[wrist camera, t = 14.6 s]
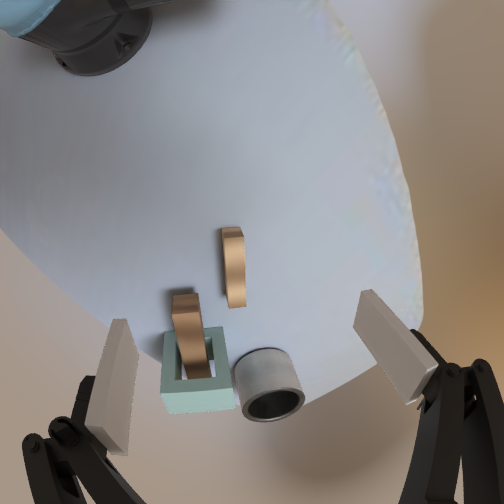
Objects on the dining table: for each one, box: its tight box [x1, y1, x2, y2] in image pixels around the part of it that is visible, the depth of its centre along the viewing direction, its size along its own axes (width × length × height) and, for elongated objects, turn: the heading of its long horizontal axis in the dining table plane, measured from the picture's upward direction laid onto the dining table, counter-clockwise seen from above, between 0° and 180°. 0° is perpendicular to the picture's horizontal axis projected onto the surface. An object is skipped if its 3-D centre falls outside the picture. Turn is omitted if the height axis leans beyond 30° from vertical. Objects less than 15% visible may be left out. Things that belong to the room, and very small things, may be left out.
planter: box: [234, 349, 305, 422], centre depth 52 cm, size 12×13×11 cm
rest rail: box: [222, 227, 246, 309], centre depth 43 cm, size 12×3×4 cm, turn 1°
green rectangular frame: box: [160, 327, 235, 414], centre depth 44 cm, size 6×11×14 cm, turn 91°
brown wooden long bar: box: [172, 293, 212, 380], centre depth 46 cm, size 22×4×5 cm, turn 1°
